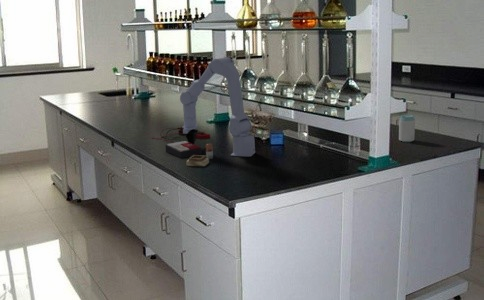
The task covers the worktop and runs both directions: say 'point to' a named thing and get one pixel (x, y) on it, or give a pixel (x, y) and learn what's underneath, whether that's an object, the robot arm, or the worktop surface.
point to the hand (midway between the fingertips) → (191, 145)
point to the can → (406, 128)
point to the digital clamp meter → (199, 135)
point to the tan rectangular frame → (197, 160)
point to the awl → (209, 151)
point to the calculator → (183, 149)
